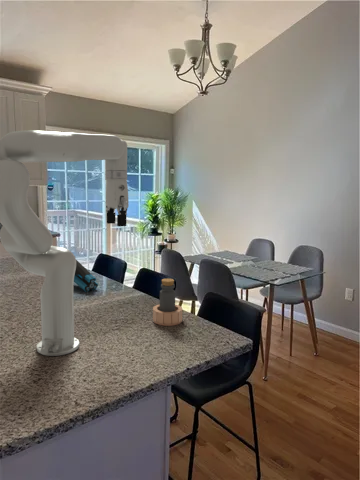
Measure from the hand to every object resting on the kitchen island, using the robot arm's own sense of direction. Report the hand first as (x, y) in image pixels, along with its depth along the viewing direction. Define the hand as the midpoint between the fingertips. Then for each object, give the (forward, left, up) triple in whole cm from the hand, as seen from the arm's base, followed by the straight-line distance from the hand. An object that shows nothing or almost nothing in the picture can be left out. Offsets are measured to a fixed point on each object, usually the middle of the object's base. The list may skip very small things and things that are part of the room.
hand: (116, 224), depth 132 cm
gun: (+49, +26, -37) cm, 66 cm away
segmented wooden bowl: (+2, -19, -36) cm, 41 cm away
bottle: (+2, -19, -36) cm, 40 cm away
